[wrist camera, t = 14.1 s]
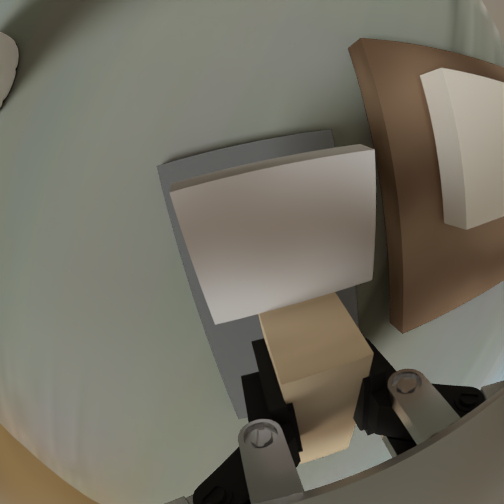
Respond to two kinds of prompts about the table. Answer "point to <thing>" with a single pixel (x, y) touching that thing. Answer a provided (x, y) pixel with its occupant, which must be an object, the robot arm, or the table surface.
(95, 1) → the table surface
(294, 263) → the turner
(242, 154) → the mat
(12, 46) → the water bottle
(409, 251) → the board
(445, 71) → the tile
